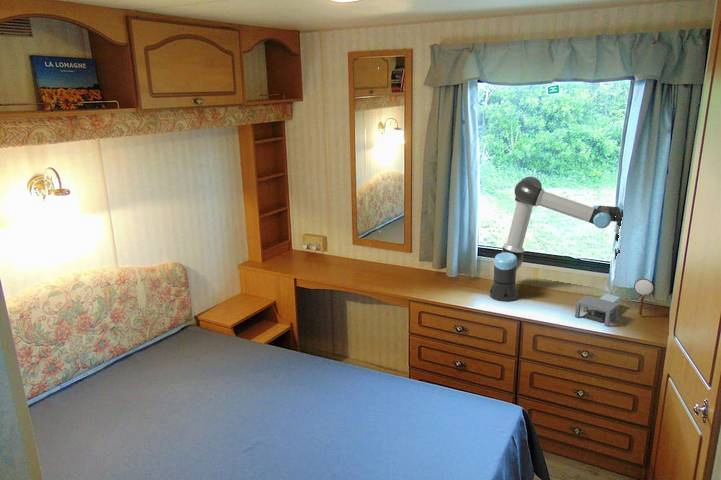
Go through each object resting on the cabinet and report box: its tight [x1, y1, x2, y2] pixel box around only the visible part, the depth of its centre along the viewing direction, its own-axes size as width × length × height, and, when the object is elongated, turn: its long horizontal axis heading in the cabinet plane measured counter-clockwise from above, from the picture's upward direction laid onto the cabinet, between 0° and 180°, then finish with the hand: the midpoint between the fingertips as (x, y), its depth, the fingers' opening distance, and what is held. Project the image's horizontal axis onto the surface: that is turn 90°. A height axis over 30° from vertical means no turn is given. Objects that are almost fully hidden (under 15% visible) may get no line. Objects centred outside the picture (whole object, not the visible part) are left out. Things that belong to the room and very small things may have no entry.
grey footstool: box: [574, 295, 620, 328], centre depth 260 cm, size 16×12×8 cm
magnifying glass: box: [633, 278, 655, 317], centre depth 259 cm, size 9×2×20 cm, turn 57°
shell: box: [595, 293, 621, 316], centre depth 270 cm, size 12×7×6 cm, turn 135°
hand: (618, 277), depth 273 cm, fingers closed
